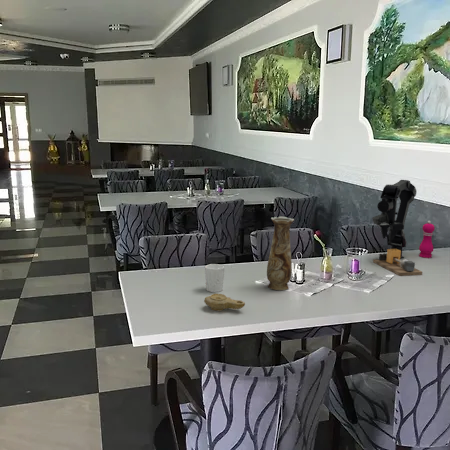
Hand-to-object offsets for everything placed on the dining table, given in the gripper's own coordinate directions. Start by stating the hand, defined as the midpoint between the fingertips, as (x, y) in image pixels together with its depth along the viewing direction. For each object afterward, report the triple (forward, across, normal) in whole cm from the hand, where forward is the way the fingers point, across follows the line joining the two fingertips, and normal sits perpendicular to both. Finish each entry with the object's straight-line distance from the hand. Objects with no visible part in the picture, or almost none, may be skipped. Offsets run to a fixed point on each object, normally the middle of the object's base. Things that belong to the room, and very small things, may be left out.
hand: (387, 239), depth 247 cm
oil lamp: (+12, +49, -97) cm, 110 cm away
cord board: (+12, +10, 0) cm, 16 cm away
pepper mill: (+12, -8, +29) cm, 32 cm away
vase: (+12, +28, -68) cm, 75 cm away
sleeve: (+10, +7, 0) cm, 12 cm away
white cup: (+12, +27, -96) cm, 101 cm away
